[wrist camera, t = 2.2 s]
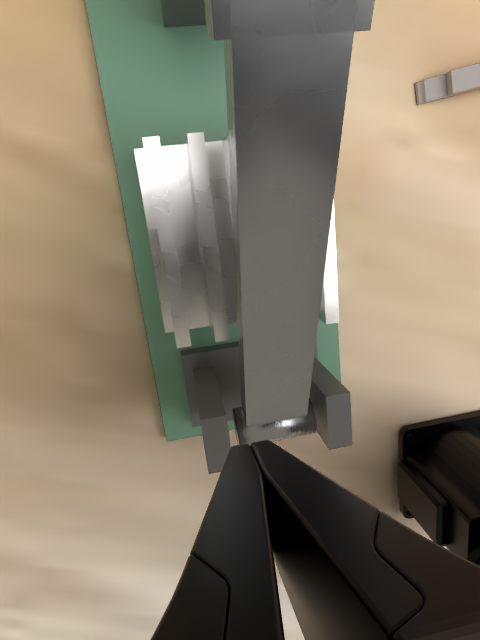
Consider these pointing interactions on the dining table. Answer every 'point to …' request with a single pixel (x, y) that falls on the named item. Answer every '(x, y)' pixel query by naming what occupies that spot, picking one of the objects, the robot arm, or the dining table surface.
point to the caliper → (448, 84)
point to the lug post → (183, 13)
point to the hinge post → (225, 394)
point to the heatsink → (201, 236)
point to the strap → (282, 190)
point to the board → (172, 127)
